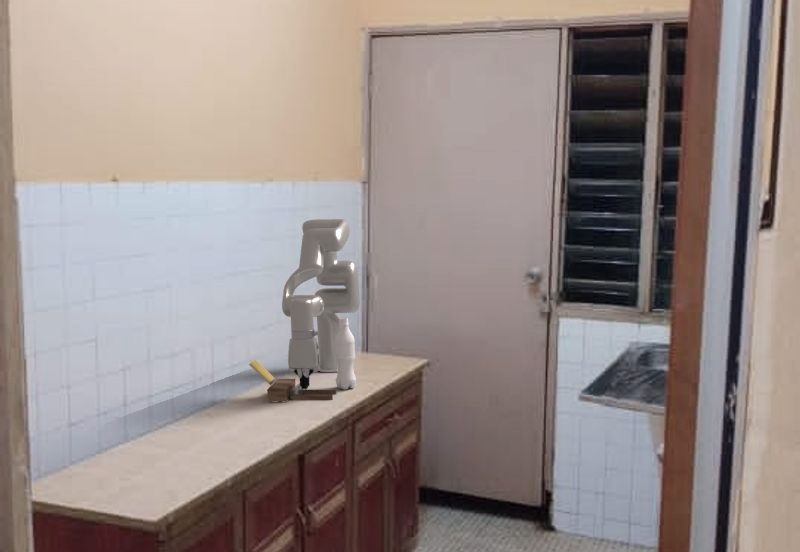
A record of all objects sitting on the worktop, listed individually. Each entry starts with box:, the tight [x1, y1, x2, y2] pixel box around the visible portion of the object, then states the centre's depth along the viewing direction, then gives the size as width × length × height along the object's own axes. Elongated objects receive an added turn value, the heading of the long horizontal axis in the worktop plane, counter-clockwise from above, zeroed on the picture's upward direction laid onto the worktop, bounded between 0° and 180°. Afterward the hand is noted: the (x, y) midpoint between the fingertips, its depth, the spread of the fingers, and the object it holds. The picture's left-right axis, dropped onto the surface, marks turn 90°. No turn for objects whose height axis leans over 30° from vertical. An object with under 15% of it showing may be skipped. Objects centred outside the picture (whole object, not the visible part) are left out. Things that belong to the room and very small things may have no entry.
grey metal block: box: [266, 382, 304, 397], centre depth 291 cm, size 11×6×4 cm, turn 82°
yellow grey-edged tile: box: [248, 359, 278, 386], centre depth 291 cm, size 6×10×1 cm
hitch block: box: [267, 378, 337, 402], centre depth 290 cm, size 14×21×5 cm, turn 84°
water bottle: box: [334, 316, 357, 391], centre depth 299 cm, size 7×7×25 cm
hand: (304, 388), depth 290 cm, fingers closed
